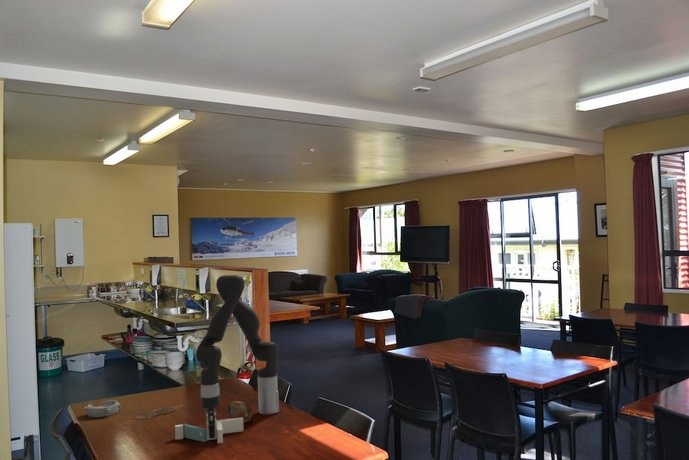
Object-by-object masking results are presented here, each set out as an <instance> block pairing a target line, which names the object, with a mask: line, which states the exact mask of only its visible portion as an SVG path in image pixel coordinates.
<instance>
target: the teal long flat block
mask: <svg viewBox="0 0 689 460" xmlns="http://www.w3.org/2000/svg"><path fill="white" fill-rule="evenodd" d="M183 438H185V439H190V440H194V441H199V442H202V443H203V442H204V443H206V442H207V441H208V440H207V429H206V428H204V427H199V426H196V425H195V426H194V425H190V424H187V423H183Z"/></svg>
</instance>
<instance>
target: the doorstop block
mask: <svg viewBox="0 0 689 460" xmlns="http://www.w3.org/2000/svg"><path fill="white" fill-rule="evenodd" d="M205 426H206V428H205V429H207V441H212V440H217V424H216V422H215V438H211V439H210V438H209V429H208V427H209V425H208V423H207V419H206V420H205ZM210 426H213V424H211V425H210Z"/></svg>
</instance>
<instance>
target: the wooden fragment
mask: <svg viewBox="0 0 689 460" xmlns="http://www.w3.org/2000/svg"><path fill="white" fill-rule="evenodd" d="M183 406H184V405H183V404H180V405H174V406H167V407H162V408H161V407H160V408H156V409H151V410H148V411H147V412H144V413H142V414H140V415H139V416H138V415H137V416H135V418H134V420H150V419H151V418H155V417H158V416H161V415H165V414H170V413H173V412H177V411H179V409H180V408H181V407H183Z"/></svg>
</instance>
